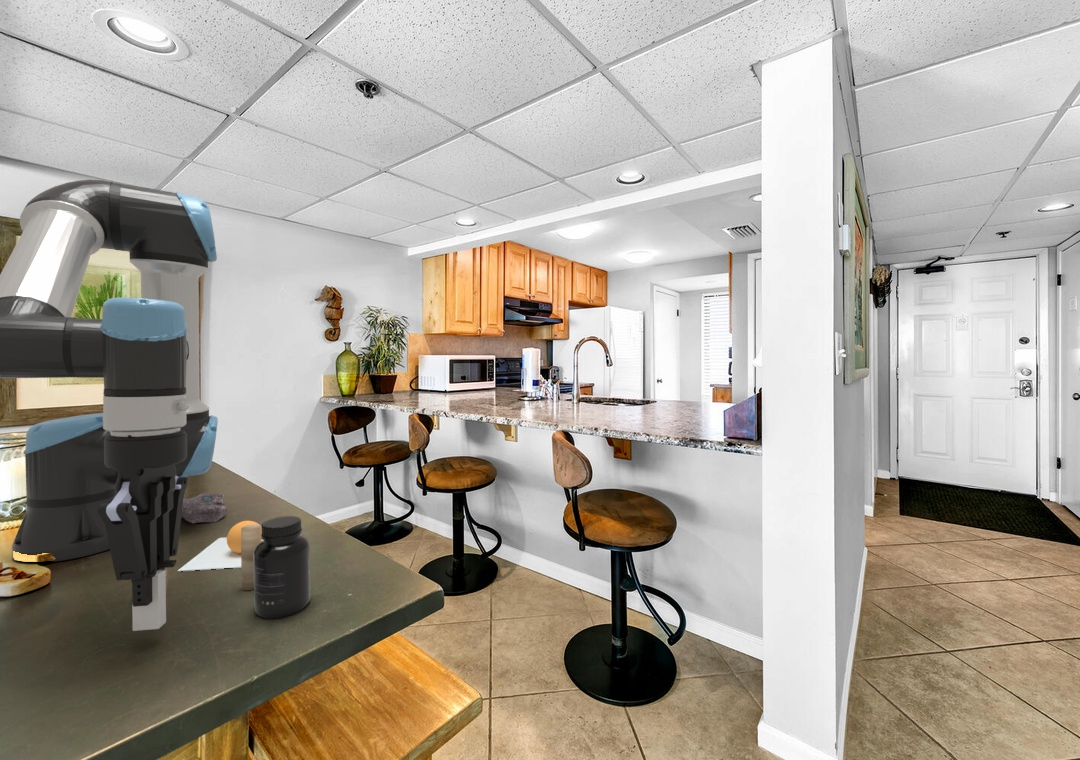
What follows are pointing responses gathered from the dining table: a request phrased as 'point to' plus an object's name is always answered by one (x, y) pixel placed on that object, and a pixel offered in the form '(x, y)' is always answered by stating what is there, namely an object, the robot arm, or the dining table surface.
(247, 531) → the post
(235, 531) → the ball
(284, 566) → the supplement bottle
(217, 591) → the dining table surface
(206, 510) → the rock
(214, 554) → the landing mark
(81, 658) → the dining table surface
